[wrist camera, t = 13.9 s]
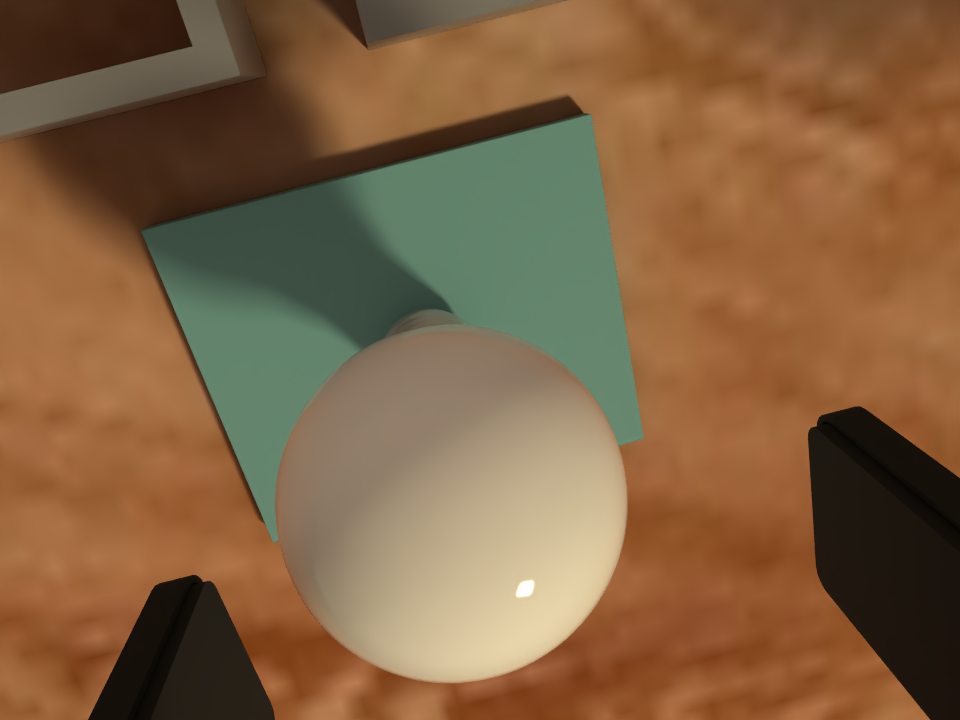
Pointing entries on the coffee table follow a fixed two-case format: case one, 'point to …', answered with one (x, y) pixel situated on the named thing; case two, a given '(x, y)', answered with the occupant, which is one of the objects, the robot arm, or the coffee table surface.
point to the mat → (399, 277)
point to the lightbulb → (451, 501)
